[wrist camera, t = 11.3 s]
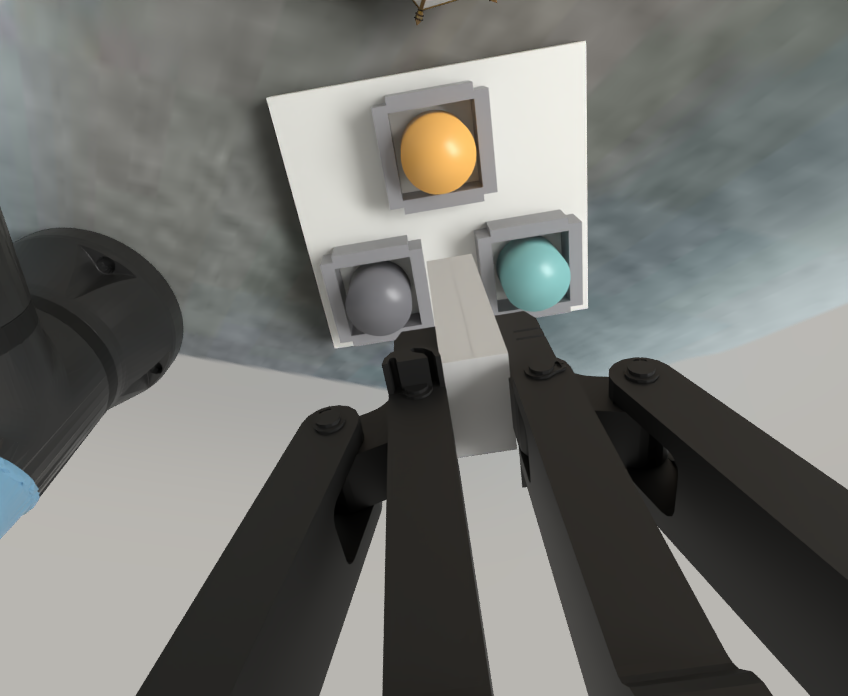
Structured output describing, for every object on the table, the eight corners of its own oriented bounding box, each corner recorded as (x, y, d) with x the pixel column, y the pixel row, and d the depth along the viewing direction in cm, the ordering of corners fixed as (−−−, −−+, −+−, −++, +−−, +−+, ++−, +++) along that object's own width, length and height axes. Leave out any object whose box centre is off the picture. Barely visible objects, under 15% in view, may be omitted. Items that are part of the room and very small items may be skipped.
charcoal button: (356, 320, 45) (353, 340, 42) (342, 264, 42) (338, 281, 39) (415, 311, 44) (416, 330, 41) (405, 254, 42) (405, 270, 39)
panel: (337, 337, 48) (331, 361, 44) (272, 95, 38) (258, 100, 35) (580, 298, 47) (596, 320, 44) (577, 41, 38) (597, 40, 34)
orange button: (406, 188, 40) (407, 200, 37) (394, 116, 37) (394, 122, 34) (473, 177, 39) (480, 187, 36) (465, 103, 37) (472, 108, 34)
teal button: (499, 298, 44) (506, 316, 41) (493, 240, 42) (501, 255, 39) (559, 288, 44) (571, 305, 41) (557, 229, 42) (569, 243, 39)
